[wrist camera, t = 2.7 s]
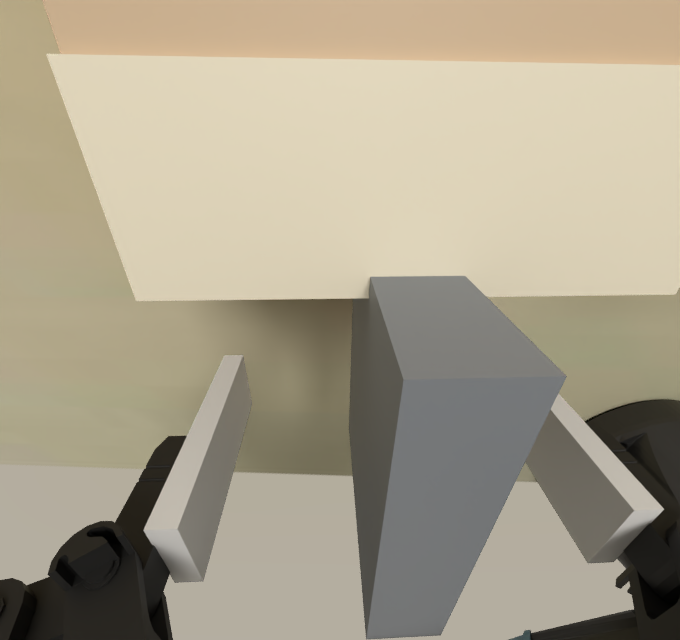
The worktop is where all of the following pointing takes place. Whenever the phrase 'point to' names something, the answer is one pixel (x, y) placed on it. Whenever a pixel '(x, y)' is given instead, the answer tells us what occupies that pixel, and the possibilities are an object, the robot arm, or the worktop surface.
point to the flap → (392, 213)
